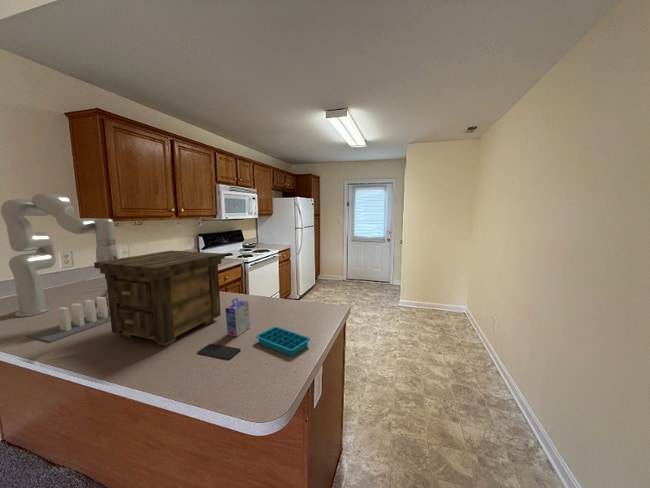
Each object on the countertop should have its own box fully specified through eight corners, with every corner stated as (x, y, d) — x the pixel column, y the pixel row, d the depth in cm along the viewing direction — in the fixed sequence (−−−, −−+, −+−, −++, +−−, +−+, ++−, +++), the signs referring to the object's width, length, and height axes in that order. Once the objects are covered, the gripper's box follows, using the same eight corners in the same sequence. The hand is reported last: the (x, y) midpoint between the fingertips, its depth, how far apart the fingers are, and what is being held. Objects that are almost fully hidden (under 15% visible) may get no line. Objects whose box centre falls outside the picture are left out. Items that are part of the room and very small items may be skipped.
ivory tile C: (73, 324, 123) (71, 304, 121) (77, 323, 124) (75, 303, 123) (80, 326, 121) (77, 305, 120) (84, 324, 123) (82, 304, 121)
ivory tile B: (86, 320, 127) (83, 300, 126) (90, 319, 129) (87, 299, 128) (93, 322, 126) (90, 301, 125) (96, 320, 127) (94, 300, 126)
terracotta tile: (108, 313, 137) (106, 294, 135) (112, 312, 138) (110, 293, 137) (115, 314, 135) (113, 295, 134) (118, 313, 137) (116, 294, 135)
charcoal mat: (26, 336, 112) (26, 335, 112) (110, 309, 143) (110, 308, 143) (50, 342, 107) (50, 341, 107) (132, 313, 138) (132, 312, 138)
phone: (210, 343, 105) (242, 348, 100) (210, 345, 105) (242, 350, 100) (195, 352, 98) (229, 359, 93) (195, 354, 98) (229, 361, 93)
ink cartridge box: (240, 325, 122) (239, 295, 120) (250, 327, 120) (249, 296, 118) (226, 335, 112) (224, 302, 111) (237, 337, 111) (235, 304, 109)
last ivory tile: (60, 329, 118) (57, 308, 117) (64, 327, 119) (61, 306, 118) (67, 330, 116) (64, 309, 115) (71, 329, 118) (68, 308, 117)
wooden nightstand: (228, 318, 130) (224, 253, 126) (163, 353, 98) (156, 268, 94) (175, 309, 142) (171, 250, 138) (102, 339, 110) (94, 262, 106)
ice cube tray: (275, 332, 115) (275, 326, 115) (311, 345, 104) (311, 338, 103) (254, 343, 106) (254, 336, 105) (291, 359, 94) (291, 351, 94)
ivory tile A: (98, 316, 132) (95, 297, 131) (101, 315, 134) (99, 296, 132) (104, 318, 130) (102, 298, 129) (108, 316, 132) (106, 297, 131)
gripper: (87, 243, 131) (91, 279, 133) (108, 244, 126) (112, 281, 128) (104, 241, 138) (108, 275, 140) (124, 242, 133) (128, 278, 136)
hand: (110, 278), depth 134 cm, fingers closed
